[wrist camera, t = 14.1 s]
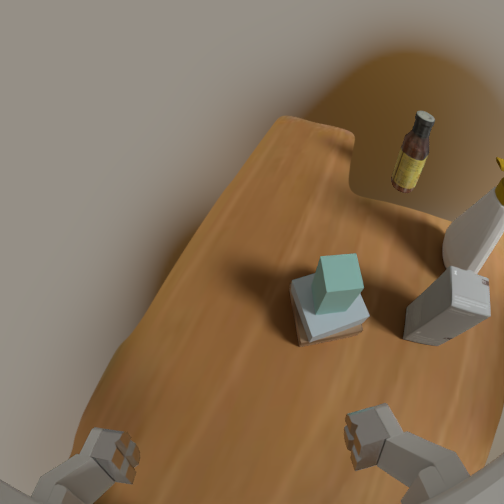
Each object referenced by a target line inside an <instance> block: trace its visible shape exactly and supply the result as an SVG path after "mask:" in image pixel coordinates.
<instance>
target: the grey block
mask: <svg viewBox="0 0 504 504" xmlns="http://www.w3.org/2000/svg"><path fill="white" fill-rule="evenodd" d="M314 276H315V273H314V274H311V275H308V276H304V277H301V278H298V279H294V280H292V284H291V293H292V295H293V298H294V301H295V304H296V306H297V309H298V312H299V315H300V318H301V321H302V323H303V326H304V329H305V332H306V335H307V338H308V341H309V343H310V342H313V341H316V340H319V339H322V338H324V337H327V336H330V335H333V334H336V333H338V332H341V331H344V330H346V329H349V328H351V327H354V326H357V325H359V324H362V323H363V322H364V321H365V320H366V319H367V318H368V317H369V316H370V315H369V313H368V310H367V308H366V306H365V303H364V301H363V299H362V296H361V294H359V295H358V297H357V298H356V299H355V300H354V302H353V303H352V304H351V306H350V307H349V308H348V309H347V311H345V312H337V313H329V314H321V315H315V308H314V301H313V294H312V287H311V285H312V282H313V279H314Z"/></svg>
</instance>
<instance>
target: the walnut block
mask: <svg viewBox="0 0 504 504" xmlns="http://www.w3.org/2000/svg"><path fill="white" fill-rule="evenodd" d="M291 284H292V283H290V287H289V293H290V299H291V304H292V309H293V315H294V320H295V326H296V331H297V337H298V343H299V347H303V346H308V345H313V344H319V343H324V342H329V341H334V340H338V339H343V338H347V337H352V336H356V335H358V334H359V333H360V332H362V331H363V328H362V324H359V325H357V326H354V327H351V328H349V329H346V330H344V331H341V332H338V333H336V334H333V335H330V336H327V337H324V338H322V339H319V340H316V341H313V342H310V343H309V341H308V338H307V335H306V332H305V329H304V326H303V323H302V321H301V318H300V315H299V312H298V309H297V306H296V304H295V301H294V298H293V295H292V293H291Z"/></svg>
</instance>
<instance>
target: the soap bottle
mask: <svg viewBox="0 0 504 504" xmlns="http://www.w3.org/2000/svg"><path fill="white" fill-rule="evenodd" d="M496 161H497V163H498V165H499V167H500V169H501V170H502V171H504V159H501V158H498V157H496ZM503 232H504V178H502V179H501V181H500V182H499V184H498V185H497V187H494V188H493V189H491V190H490V191H489V192H488V193H487V194H486V195H485V196H484V197H482V198H481V199H480V200H479V201H478V202H476V203H475V204H474V205H473V206H471V207H470V208H469V209H468V210H466V212H464V213H463V214H461V215H460V216H459V217H458V218H456V219H455V220H454V221H453V222H452V223H451V225H450V226H449V227H448V228H447V230H446V233H445V237H444V241H443V248H442V253H443V261H444V265H445V267H446V269H447V268H448V267H449V266H454V267H457V268H460V269H463V270H466V271H467V270H471V271H473V272H474V273H475V274H477V273H478V272H479V270H480V269H481V267H482V266H483V264H484V263H485V261H486V260H487V258H488V256H489V255H490V253H491V252H492V250H493V249H494V247H495V245H496V244H497V242H498V240H499V239H500V237H501V236H502V234H503Z"/></svg>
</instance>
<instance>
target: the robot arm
mask: <svg viewBox="0 0 504 504" xmlns="http://www.w3.org/2000/svg"><path fill="white" fill-rule="evenodd" d="M345 421H346V424H347V425H346V426H345V427H344V439H345V443H346V447H347V449H348V450H350V451H351V461H352V464H353V467H354V470H355V471H357V470H361V469H364V468H368V467H371V466H375V465H377V466H378V467H379V468H381V469H382V470H384V471H385V472H387V473H388V474H390V475H391V476H392V477H394V478H395V479H397V480H399V481H400V482H402V483H403V484H405V485H406V486H408V487H409V489H408V491H407V492H406V494H405V495H404V497H403V498H402V500H401V503H402V504H504V453H503V454H501V455H500V456H499V457H497V458H496V459H495V460H493V461H492V462H490V463H489V464H488V465H486V466H485V467H483V468H482V469H480V470H479V471H477V472H476V473H474V474H473V475H471V476H470V475H469V473H468V472H467V470H466V468H465V467H464V465H463V464H462V462H461V460H460V459H459V457H458V456H457V454H456V452H453V451H451V450H448V449H446V448H444V447H441V446H439V445H437V444H434V443H432V442H430V441H427V440H425V439H423V438H421V437H418V436H416V435H414V434H412V433H410V432H408V431H407V432H403V430H402V429H401V427H400V425H399V423H398V422H397V420H396V418H395V416H394V415H393V413H392V411H391V409H390V408H389V406H388V404H386V403H383V404H380V405H377V406H374V407H369V408H366V409H363V410H360V411H356V412H353V413H349V414H347V415H346V417H345ZM139 461H140V451H139V448H138V446H137V445H136V444H135V443H134V442H132V441H131V436H130V435H129V433H128V432H123V431H115V430H109V429H102V428H96V427H95V428H93V429H92V430H91V432H90V434H89V436H88V438H87V440H86V442H85V444H84V446H83V448H82V450H81V452H80V454H76V455H74V456H73V457H71V458H70V459H68V460H67V461H65V462H64V463H62V464H60V465H59V466H57V467H56V468H54V469H52V470H51V471H49V472H48V473H46V474H44V475H43V476H41V477H40V479H39V482H38V484H37V486H36V487H35V490H34V492H33V494H32V496H31V497H30V496H28V495H26V494H24V493H22V492H21V491H19V490H17V489H15V488H14V487H12V486H10V485H8V484H7V483H5V482H3V481H2V480H0V504H93V503H94V502H95V501H96V500H97V499H98V498H99V497H100V496H101V495H102V494H104V493H105V492H106V491H107V490H108V489H109V488H110V487H111V486H112V485H113V484H114V483H115V482H121V483H127V484H133V482H134V478H135V475H136V471H135V469H134V467H136V466H137V465H138V464H139ZM114 481H115V482H114Z"/></svg>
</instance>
